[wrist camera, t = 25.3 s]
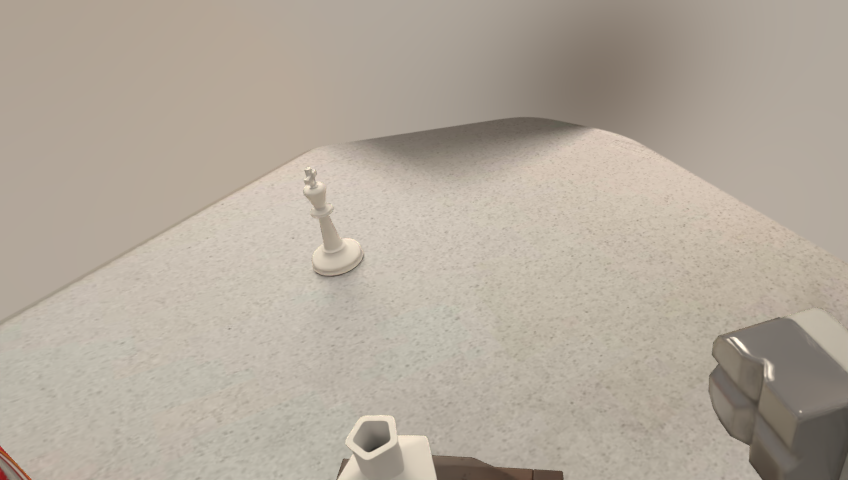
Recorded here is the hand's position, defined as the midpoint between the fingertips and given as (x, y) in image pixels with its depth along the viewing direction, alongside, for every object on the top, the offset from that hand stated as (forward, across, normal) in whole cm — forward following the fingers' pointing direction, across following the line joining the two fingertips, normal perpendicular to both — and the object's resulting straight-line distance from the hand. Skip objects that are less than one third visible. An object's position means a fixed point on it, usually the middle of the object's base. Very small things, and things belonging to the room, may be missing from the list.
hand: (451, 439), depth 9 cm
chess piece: (+44, +5, +28) cm, 53 cm away
